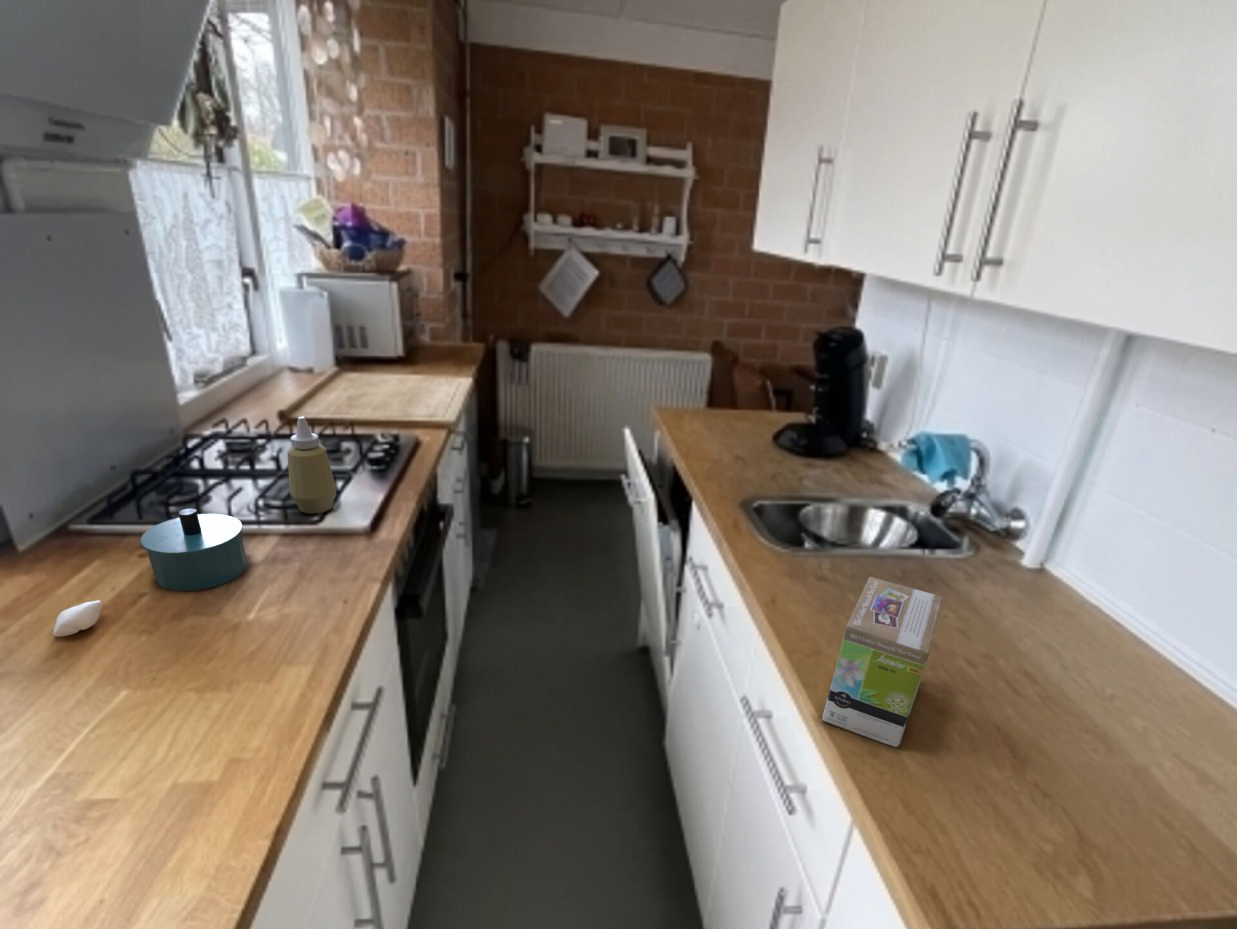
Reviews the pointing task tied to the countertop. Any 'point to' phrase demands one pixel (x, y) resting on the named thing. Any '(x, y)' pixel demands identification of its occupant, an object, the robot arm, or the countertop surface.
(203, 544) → the pot lid
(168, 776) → the countertop surface
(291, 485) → the squeeze bottle
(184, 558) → the pot
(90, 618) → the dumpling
